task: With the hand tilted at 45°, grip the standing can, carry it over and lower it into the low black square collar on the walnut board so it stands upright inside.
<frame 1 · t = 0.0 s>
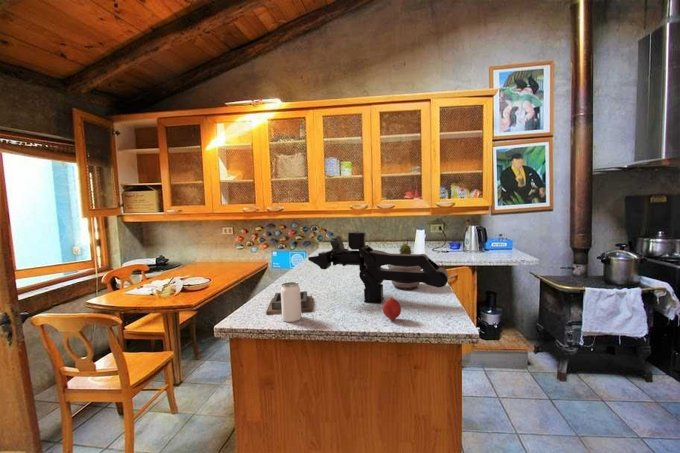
hand: (313, 256, 135), 17 cm above the worktop, tool horizontal, fingers open, 9 cm apart
flowerpot: (405, 287, 145), on the worktop
can: (292, 319, 111), on the worktop
onion: (392, 320, 107), on the worktop
socket: (290, 305, 125), on the worktop
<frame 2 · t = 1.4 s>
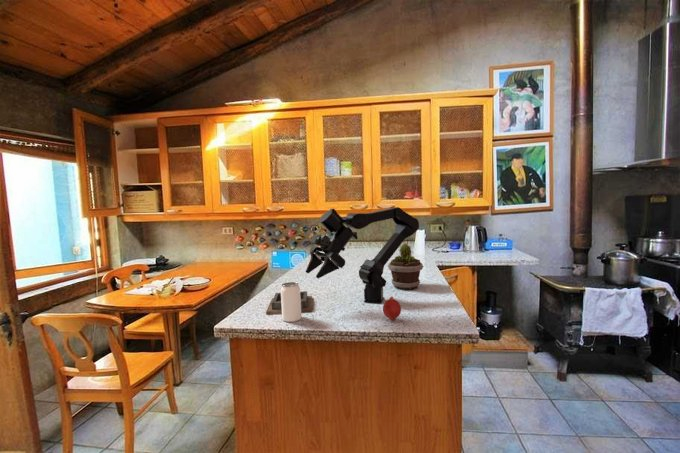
hand: (311, 275, 114), 14 cm above the worktop, tool tilted 45°, fingers open, 9 cm apart
nothing on the worktop moved.
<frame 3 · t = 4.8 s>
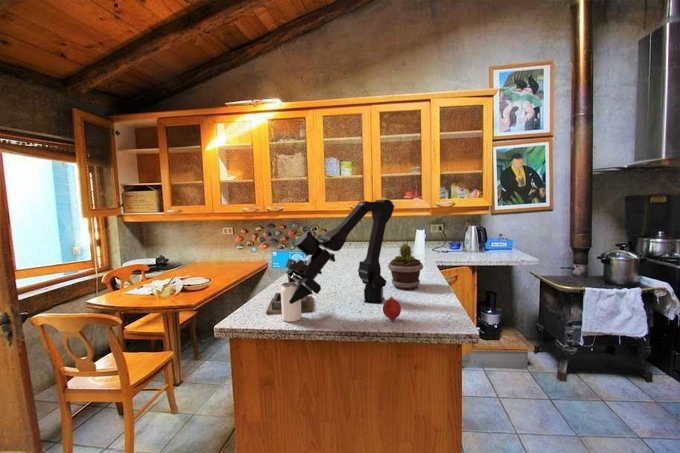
hand: (286, 300, 110), 7 cm above the worktop, tool tilted 45°, fingers closed on can, 6 cm apart
can: (292, 319, 111), on the worktop, touching gripper
everything else where it was.
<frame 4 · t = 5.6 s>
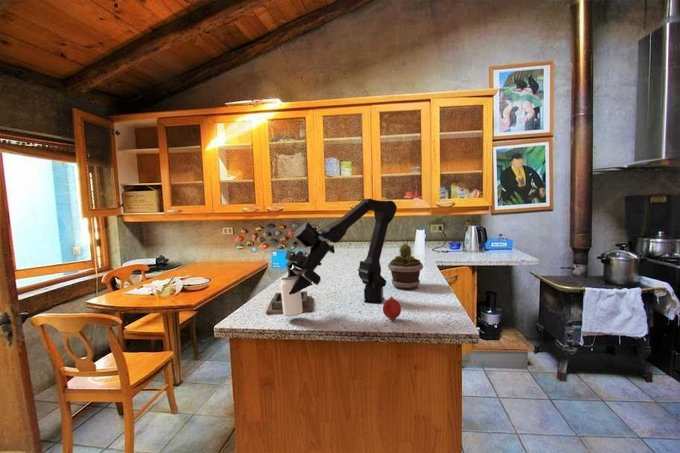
hand: (286, 292, 110), 9 cm above the worktop, tool tilted 45°, fingers closed on can, 6 cm apart
can: (293, 314, 110), point 2 cm above the worktop, touching gripper
everything else where it was.
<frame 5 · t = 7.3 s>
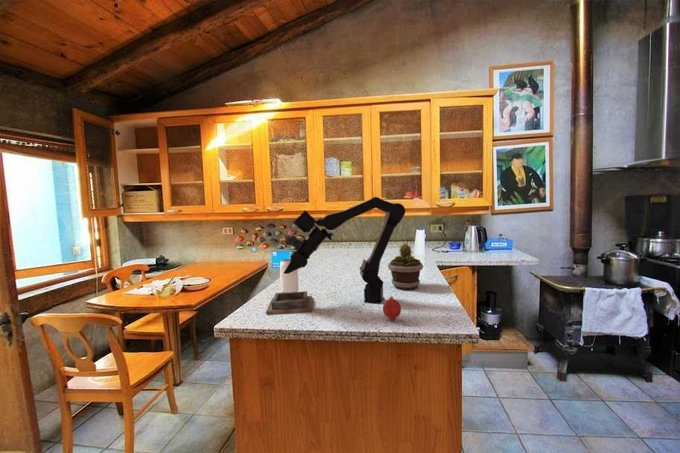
hand: (285, 271, 124), 13 cm above the worktop, tool tilted 45°, fingers closed on can, 6 cm apart
can: (290, 292, 124), point 6 cm above the worktop, touching gripper
everything else where it was.
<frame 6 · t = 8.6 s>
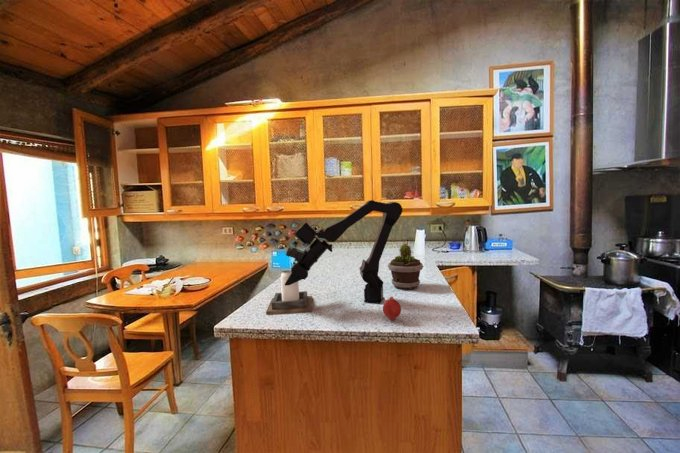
hand: (286, 283, 124), 9 cm above the worktop, tool tilted 45°, fingers closed on can, 6 cm apart
can: (290, 303, 124), point 1 cm above the worktop, touching gripper
everything else where it was.
when the fingers open (9 cm above the worktop, at t = 9.1 s): can stays where it is, resting on socket.
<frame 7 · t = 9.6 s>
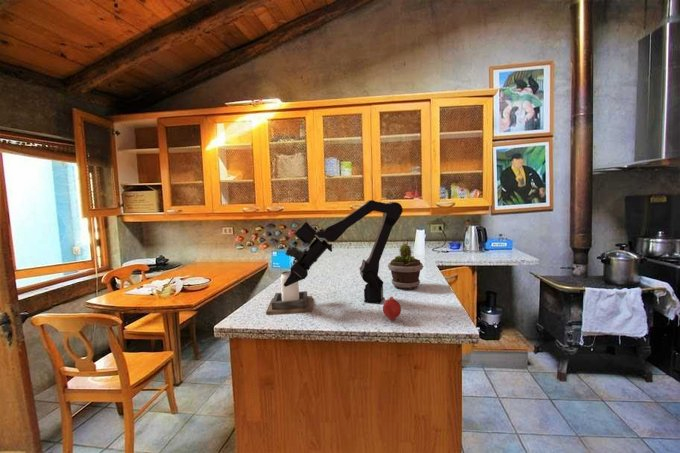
hand: (285, 282, 124), 9 cm above the worktop, tool tilted 45°, fingers open, 9 cm apart
can: (290, 304, 124), point 1 cm above the worktop, touching socket
everything else where it was.
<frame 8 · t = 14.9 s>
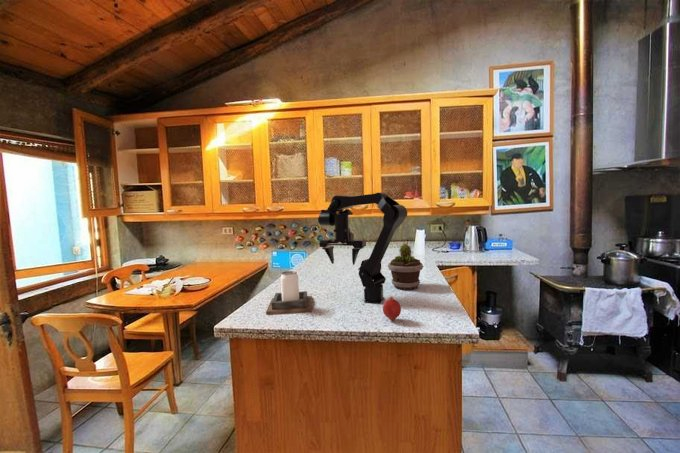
hand: (343, 264, 135), 13 cm above the worktop, tool pointing down, fingers open, 9 cm apart
nothing on the worktop moved.
at the end: can 1.1 cm off-centre on the socket, point 0.8 cm above the socket's base; can tilted 0°; the gripper is holding nothing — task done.
